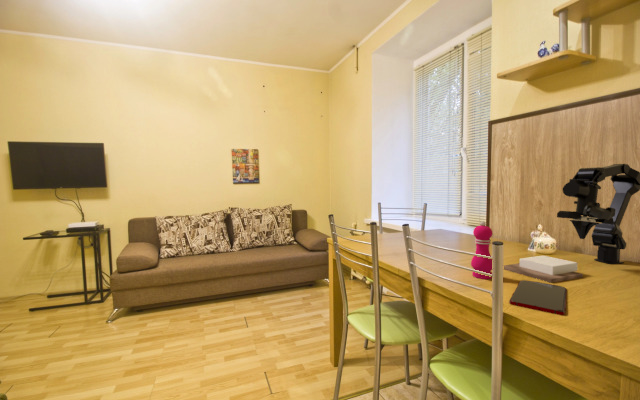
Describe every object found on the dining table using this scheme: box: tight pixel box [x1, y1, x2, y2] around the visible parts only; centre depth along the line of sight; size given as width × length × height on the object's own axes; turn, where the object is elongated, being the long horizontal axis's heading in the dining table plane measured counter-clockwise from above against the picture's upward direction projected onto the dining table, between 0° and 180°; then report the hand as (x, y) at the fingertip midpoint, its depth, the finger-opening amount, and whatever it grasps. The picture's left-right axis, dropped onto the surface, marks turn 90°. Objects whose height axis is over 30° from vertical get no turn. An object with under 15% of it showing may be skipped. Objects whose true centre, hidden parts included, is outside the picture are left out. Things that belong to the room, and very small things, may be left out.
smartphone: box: [509, 279, 567, 316], centre depth 89 cm, size 12×2×25 cm
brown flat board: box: [503, 262, 584, 284], centre depth 111 cm, size 16×18×1 cm
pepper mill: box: [470, 220, 493, 280], centre depth 107 cm, size 7×7×20 cm
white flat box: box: [519, 255, 578, 275], centre depth 112 cm, size 3×12×13 cm
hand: (582, 238), depth 117 cm, fingers closed
